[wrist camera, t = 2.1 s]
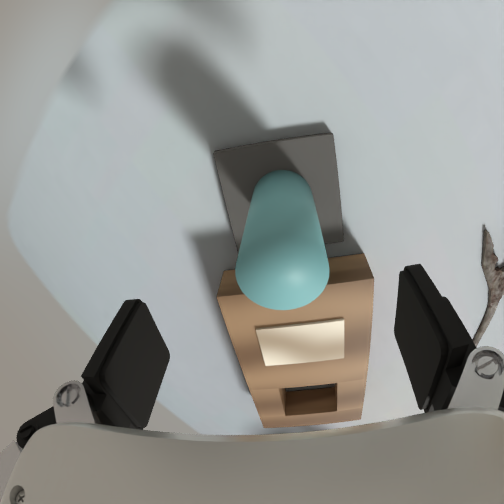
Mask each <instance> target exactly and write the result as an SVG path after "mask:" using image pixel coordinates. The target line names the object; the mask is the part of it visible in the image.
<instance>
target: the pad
mask: <svg viewBox="0 0 504 504" xmlns="http://www.w3.org/2000/svg"><path fill="white" fill-rule="evenodd" d="M213 154H214V158H215V162H216V166H217V171H218V175H219V179H220V183H221V187H222V191H223V195H224V199H225V203H226V207H227V211H228V215H229V219H230V223H231V227H232V231H233V235H234V239H235V243H236V247H237V250H238V254H239V249H240V245H241V241H242V237H243V233H244V229H245V224H246V220H247V216H248V212H249V208H250V204H251V200H252V196H253V192H254V188H255V186H256V184H257V183H258V181H259V180H260V179H261V178H262V177H263V176H265V175H266V174H268V173H270V172H273V171H276V170H288V171H292V172H295V173H297V174H299V175H300V176H302V177H303V178H304V179H305V180H306V181H307V183H308V184H309V186H310V188H311V191H312V195H313V199H314V203H315V207H316V211H317V215H318V219H319V223H320V228H321V232H322V236H323V241H324V244H328V243H335V242H343V241H344V239H343V224H342V211H341V200H340V189H339V179H338V170H337V161H336V153H335V145H334V137H333V134H332V133H324V134H316V135H308V136H300V137H293V138H286V139H280V140H273V141H267V142H261V143H255V144H249V145H244V146H238V147H233V148H228V149H223V150H218V151H215V152H214V153H213Z"/></svg>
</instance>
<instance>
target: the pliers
mask: <svg viewBox="0 0 504 504" xmlns="http://www.w3.org/2000/svg"><path fill="white" fill-rule="evenodd" d="M493 247H494V246H493V243H492V240H491V237H490V234H489V232H488V231H487V230H485V231H484V238H483V254H482V265H481V266H482V269H483V272H484V275H485V278H486V281H487V285H488V288H489V297H488V306H487V310H486V313H485V315H484V318H483V320H482V322H481V324H480V326H479V329H478V331H477V333H476V335H475V337H474V339H473V342H474V344H475V346H477V344H478V343H479V341H480V339H481V337H482V335H483V334H484V332H485V330H486V328H487V326H488V325H489V323H490V321H491V319H492V317H493V315H494V313H495V310H496V308H497V305H498V303H499V300H500V299H501V297H502V295H504V267H502V268H501V269H500V268H499V267H496V268H495V264H496V263H497V261H498V258H497V256H496V255H495V254H494V253H493Z"/></svg>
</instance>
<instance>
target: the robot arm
mask: <svg viewBox="0 0 504 504" xmlns="http://www.w3.org/2000/svg"><path fill="white" fill-rule="evenodd" d="M394 333H395V338H396V341H397V343H398V346H399V349H400V352H401V355H402V357H403V360H404V363H405V366H406V369H407V372H408V375H409V378H410V381H411V384H412V388H413V391H414V394H415V397H416V401H417V404H418V407H419V409H420V410H422V409H424V411H425V413H422V414H417V415H412V416H408V417H403V418H398V419H393V420H388V421H382V422H377V423H371V424H365V425H358V426H352V427H345V428H338V429H330V430H321V431H311V432H300V433H286V434H267V435H202V434H182V433H169V432H158V431H148V430H143V428H145V427H146V426H147V424H148V422H149V418H150V415H151V412H152V409H153V406H154V403H155V400H156V397H157V394H158V391H159V389H160V386H161V383H162V380H163V377H164V374H165V371H166V368H167V365H168V363H169V359H170V353H169V350H168V348H167V346H166V344H165V342H164V340H163V338H162V336H161V334H160V332H159V330H158V328H157V326H156V324H155V322H154V320H153V318H152V316H151V314H150V311H149V309H148V307H147V305H146V304H145V303H144V302H142V301H141V300H140V299H133V300H126V301H125V302H124V303H123V305H122V306H121V308H120V310H119V311H118V313H117V314H116V316H115V318H114V319H113V321H112V323H111V324H110V326H109V328H108V329H107V331H106V333H105V335H104V336H103V338H102V340H101V341H100V343H99V345H98V347H97V348H96V350H95V352H94V354H93V355H92V357H91V359H90V361H89V363H88V364H87V366H86V368H85V370H84V372H83V374H82V375H81V377H82V378H83V379H84V381H83V383H80V382H79V381H75V380H74V381H69V382H66V383H64V384H63V385H61V386H60V387H59V388H58V389H57V391H56V392H55V394H54V397H53V407H51V408H49V409H48V410H46V411H44V412H42V413H41V414H39V415H37V416H36V417H34V418H32V419H30V420H28V421H27V422H25V423H24V424H23V425H22V426H21V427H20V429H19V431H18V433H17V442H15V441H14V440H13V441H12V442H11V443H10V444H9V445H8V446H7V447H6V448H5V449H4V450H3V451H2V452H1V453H0V504H504V354H503V353H502V352H501V351H499V350H498V349H496V348H493V347H489V346H483V347H479V348H476V346H475V344H474V342H473V341H472V339H471V337H470V335H469V333H468V332H467V330H466V328H465V326H464V325H463V323H462V321H461V320H460V318H459V316H458V315H457V313H456V311H455V310H454V308H453V307H452V305H451V303H450V302H449V300H448V299H447V298H446V297H442V296H441V294H440V293H439V291H438V290H437V288H436V286H435V285H434V283H433V282H432V280H431V279H430V277H429V276H428V274H427V273H426V271H425V270H424V268H423V267H422V265H421V264H416V265H410V266H405V268H404V271H400V274H399V286H398V298H397V308H396V317H395V326H394Z"/></svg>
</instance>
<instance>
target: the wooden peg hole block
mask: <svg viewBox="0 0 504 504" xmlns="http://www.w3.org/2000/svg"><path fill="white" fill-rule="evenodd" d="M328 263H329V279H328V282H327V285H326V287H325V289H324V290H323V292H322V293H321V294H320V295H319V296H318V297H317V298H316V299H315V300H313V301H312V302H310V303H309V304H307V305H305V306H302V307H300V308H296V309H291V310H274V309H269V308H265V307H263V306H260V305H258V304H256V303H254V302H253V301H251V300H250V299H249V298H248V297H247V296H246V295H245V294H244V293H243V292H242V290H241V289H240V287H239V285H238V283H237V280H236V275H235V270H227V271H224V272H223V276H222V279H221V283H220V287H219V290H218V294H217V300H218V303H219V306H220V309H221V312H222V315H223V318H224V320H225V323H226V326H227V329H228V332H229V335H230V338H231V341H232V343H233V346H234V349H235V352H236V355H237V357H238V360H239V363H240V366H241V368H242V371H243V374H244V377H245V379H246V382H247V385H248V387H249V390H250V393H251V395H252V398H253V401H254V403H255V406H256V408H257V411H258V414H259V416H260V419H261V421H262V424H263V426H264V428H276V427H295V426H308V425H319V424H329V423H337V422H345V421H353V420H359V419H361V415H362V408H363V402H364V395H365V387H366V379H367V371H368V362H369V352H370V341H371V328H372V313H373V293H374V277H373V275H372V272H371V269H370V267H369V264H368V262H367V259H366V257H365V254H364V253H363V254H356V255H348V256H341V257H333V258H328ZM332 383H335V387H329V388H320V389H311V390H300V391H287V392H286V390H285V388H292V387H303V386H314V385H323V384H332Z"/></svg>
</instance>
